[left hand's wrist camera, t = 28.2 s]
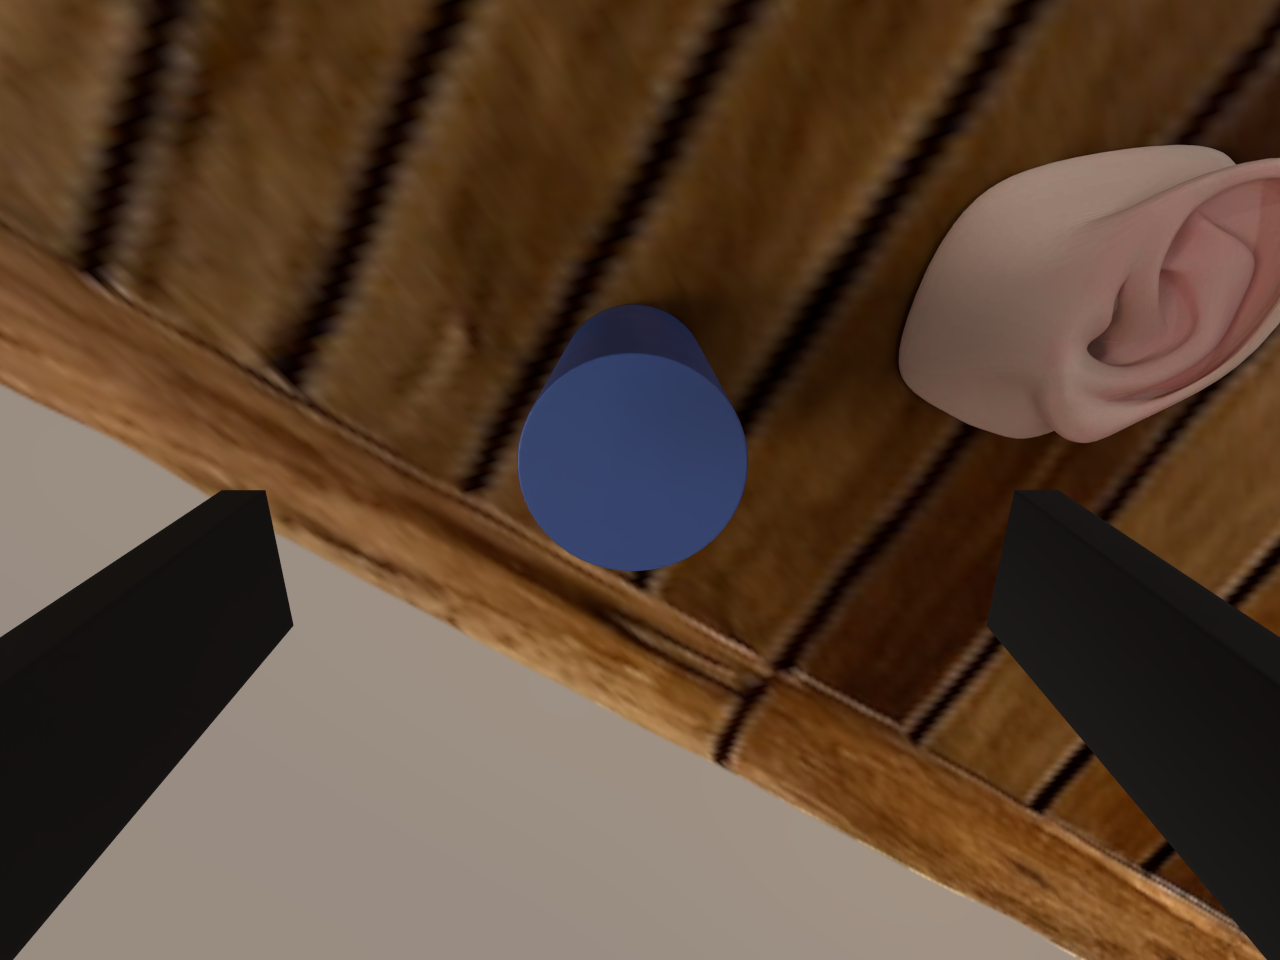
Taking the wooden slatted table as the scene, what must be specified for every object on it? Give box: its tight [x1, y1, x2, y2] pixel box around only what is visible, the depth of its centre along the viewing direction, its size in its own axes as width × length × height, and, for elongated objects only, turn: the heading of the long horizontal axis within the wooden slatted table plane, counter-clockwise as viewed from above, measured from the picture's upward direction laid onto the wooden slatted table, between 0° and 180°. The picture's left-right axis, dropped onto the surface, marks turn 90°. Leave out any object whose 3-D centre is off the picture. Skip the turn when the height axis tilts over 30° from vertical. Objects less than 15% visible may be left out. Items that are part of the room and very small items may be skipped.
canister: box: [517, 304, 748, 571], centre depth 24 cm, size 6×6×12 cm
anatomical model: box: [899, 145, 1280, 443], centre depth 26 cm, size 13×4×12 cm
